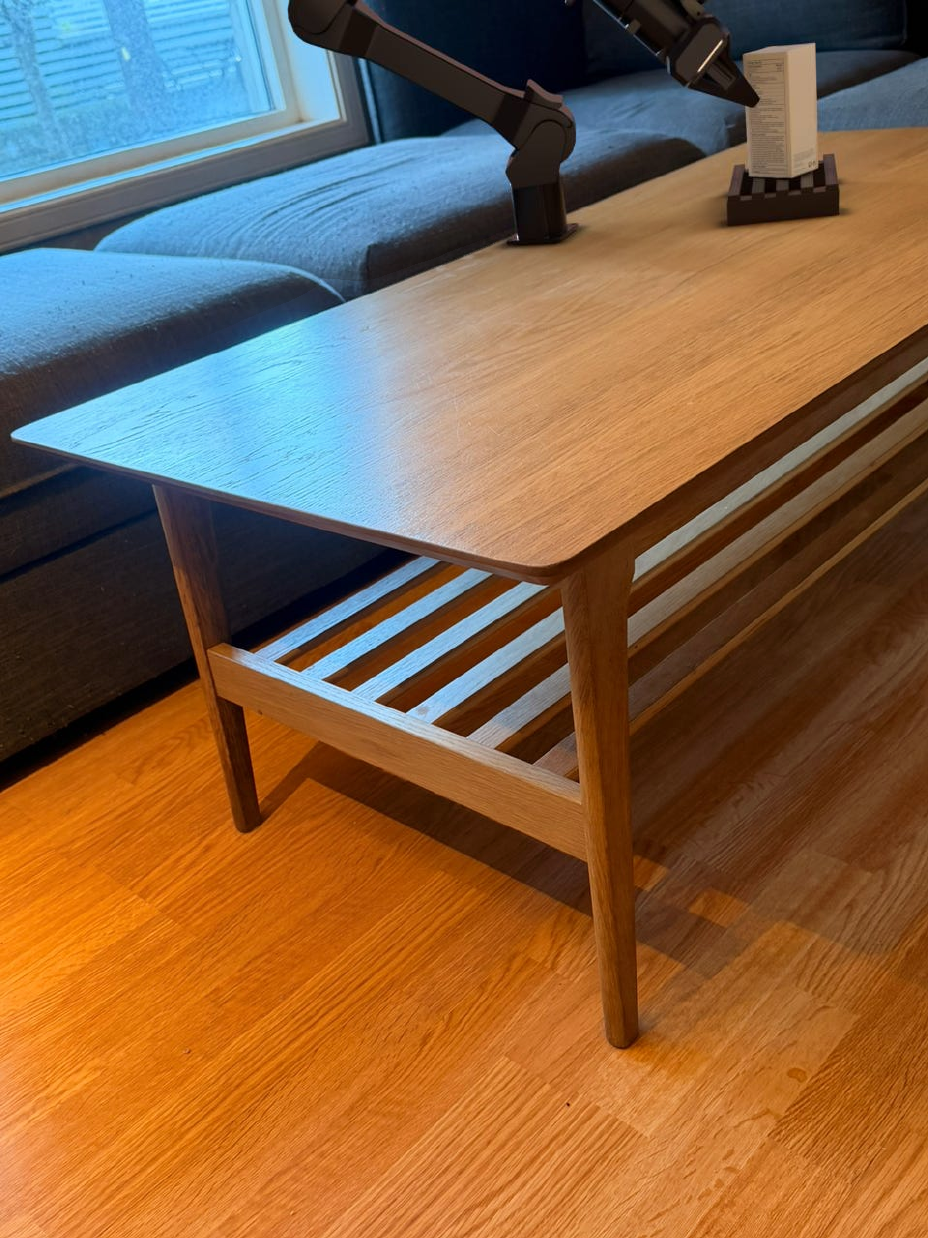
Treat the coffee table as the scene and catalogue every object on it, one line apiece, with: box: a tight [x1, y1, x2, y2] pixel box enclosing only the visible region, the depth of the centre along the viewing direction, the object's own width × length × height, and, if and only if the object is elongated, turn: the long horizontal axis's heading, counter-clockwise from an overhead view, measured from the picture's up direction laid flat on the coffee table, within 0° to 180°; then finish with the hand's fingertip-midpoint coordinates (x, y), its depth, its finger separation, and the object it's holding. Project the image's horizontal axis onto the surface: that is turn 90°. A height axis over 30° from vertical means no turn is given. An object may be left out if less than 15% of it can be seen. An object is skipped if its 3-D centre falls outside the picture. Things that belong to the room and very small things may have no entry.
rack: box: [726, 152, 841, 227], centre depth 121 cm, size 16×11×3 cm
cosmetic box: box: [742, 42, 819, 178], centre depth 117 cm, size 6×4×12 cm
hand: (750, 97), depth 116 cm, fingers open, 9 cm apart
